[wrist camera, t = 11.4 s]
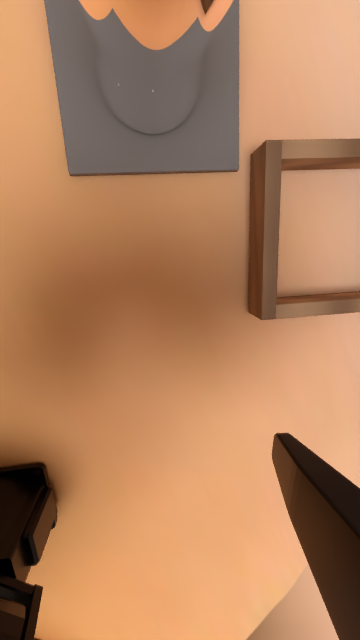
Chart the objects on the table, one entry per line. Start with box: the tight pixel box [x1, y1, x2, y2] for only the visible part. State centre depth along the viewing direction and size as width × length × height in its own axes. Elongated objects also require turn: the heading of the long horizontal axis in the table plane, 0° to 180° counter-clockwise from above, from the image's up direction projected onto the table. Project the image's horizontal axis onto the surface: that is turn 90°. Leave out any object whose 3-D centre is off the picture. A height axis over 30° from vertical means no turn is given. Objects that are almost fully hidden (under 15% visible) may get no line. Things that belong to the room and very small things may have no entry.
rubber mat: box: [44, 0, 239, 176], centre depth 16 cm, size 11×11×1 cm
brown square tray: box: [249, 139, 360, 320], centre depth 19 cm, size 11×11×2 cm
